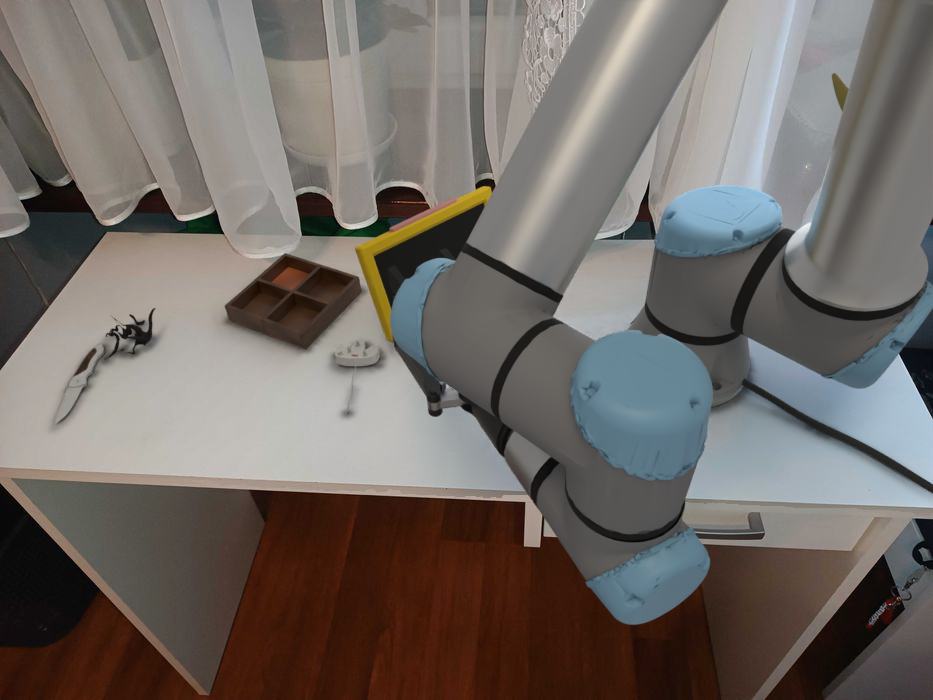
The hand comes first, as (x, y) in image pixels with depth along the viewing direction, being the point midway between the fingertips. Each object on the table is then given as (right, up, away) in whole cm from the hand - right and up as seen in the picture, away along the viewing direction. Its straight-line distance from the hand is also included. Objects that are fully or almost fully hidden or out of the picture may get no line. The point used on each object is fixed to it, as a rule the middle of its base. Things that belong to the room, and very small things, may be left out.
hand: (418, 269), depth 70 cm
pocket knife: (-43, -12, +19) cm, 49 cm away
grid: (-19, -2, +29) cm, 35 cm away
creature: (-40, -7, +25) cm, 48 cm away
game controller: (-9, -12, +19) cm, 24 cm away
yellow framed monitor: (+1, -3, +27) cm, 27 cm away
